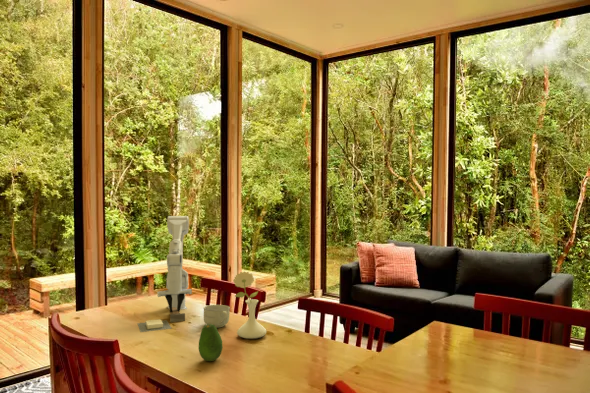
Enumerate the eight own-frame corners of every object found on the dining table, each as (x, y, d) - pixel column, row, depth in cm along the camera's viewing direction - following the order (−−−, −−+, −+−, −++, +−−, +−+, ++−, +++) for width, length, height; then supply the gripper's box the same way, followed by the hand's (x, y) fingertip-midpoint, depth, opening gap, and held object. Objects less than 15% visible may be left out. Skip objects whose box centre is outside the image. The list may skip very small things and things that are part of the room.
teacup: (200, 324, 193) (200, 305, 193) (225, 321, 198) (225, 302, 197) (209, 333, 180) (209, 313, 180) (235, 330, 185) (235, 310, 185)
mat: (137, 324, 192) (137, 323, 192) (166, 321, 197) (166, 320, 197) (140, 333, 180) (140, 332, 180) (171, 329, 185) (171, 328, 185)
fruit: (196, 358, 153) (196, 322, 153) (220, 355, 156) (220, 320, 156) (200, 366, 146) (200, 329, 146) (224, 363, 149) (225, 326, 149)
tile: (145, 320, 189) (147, 325, 183) (160, 319, 192) (163, 323, 186) (145, 324, 190) (147, 329, 183) (160, 323, 192) (163, 327, 186)
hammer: (165, 315, 205) (165, 308, 205) (179, 314, 208) (179, 306, 208) (170, 323, 193) (170, 315, 193) (184, 322, 196) (185, 313, 196)
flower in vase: (268, 332, 182) (268, 269, 181) (263, 341, 170) (264, 274, 170) (236, 331, 183) (236, 268, 183) (229, 340, 172) (229, 273, 171)
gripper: (159, 283, 195) (159, 315, 195) (193, 281, 201) (193, 312, 201) (156, 280, 201) (156, 311, 201) (190, 278, 207) (189, 308, 207)
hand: (174, 311), depth 201 cm, fingers open, 3 cm apart
